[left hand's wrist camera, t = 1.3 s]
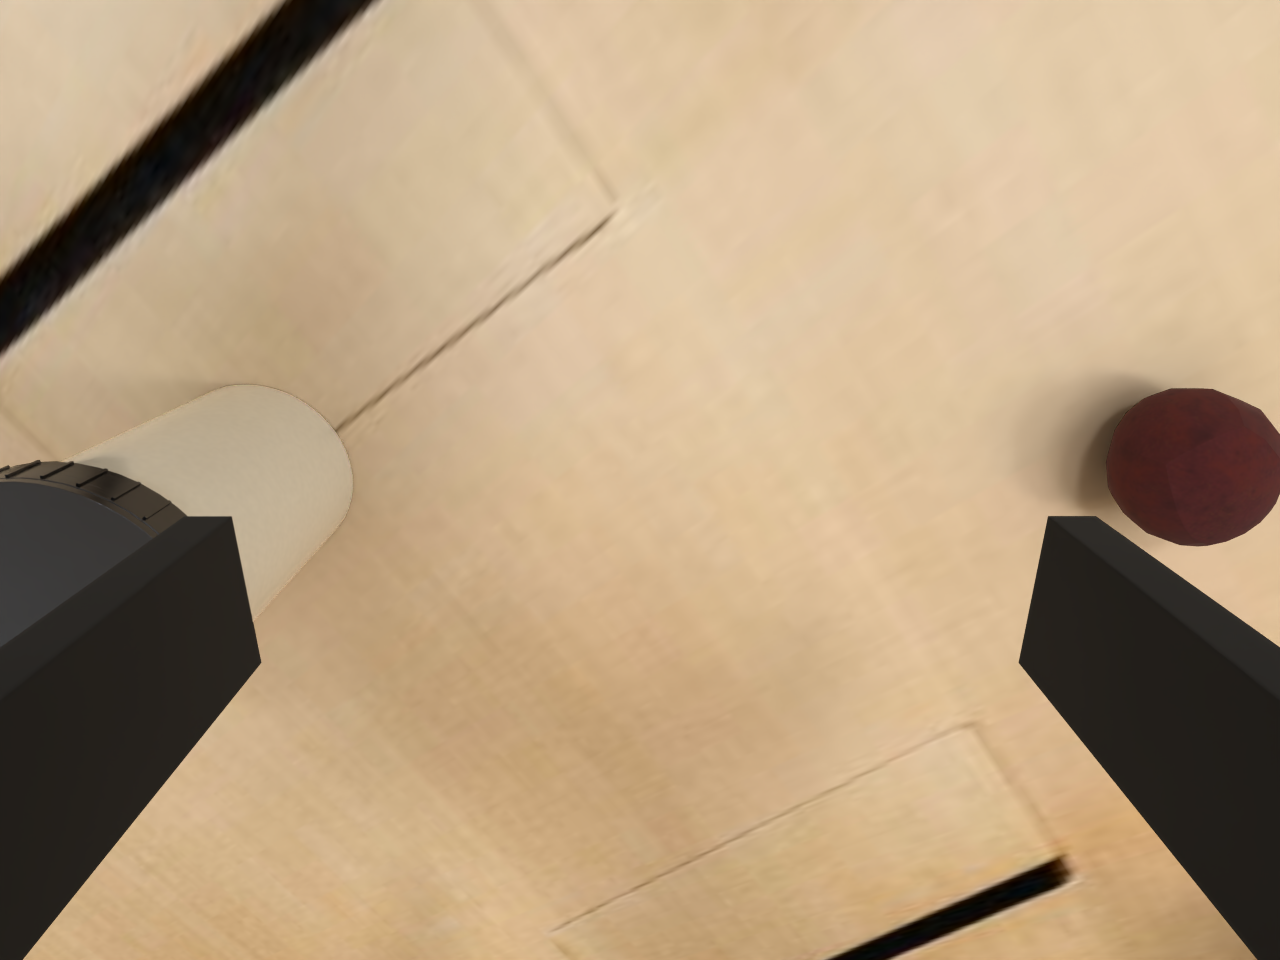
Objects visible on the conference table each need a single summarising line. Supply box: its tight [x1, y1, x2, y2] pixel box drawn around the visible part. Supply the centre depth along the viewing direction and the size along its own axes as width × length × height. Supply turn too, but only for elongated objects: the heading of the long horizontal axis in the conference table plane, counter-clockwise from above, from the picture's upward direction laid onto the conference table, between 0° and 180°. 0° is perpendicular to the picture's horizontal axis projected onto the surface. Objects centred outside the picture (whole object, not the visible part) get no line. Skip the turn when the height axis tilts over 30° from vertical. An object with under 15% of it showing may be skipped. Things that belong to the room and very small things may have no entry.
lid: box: [0, 460, 187, 647], centre depth 28 cm, size 11×11×2 cm
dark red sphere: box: [1106, 388, 1280, 546], centre depth 38 cm, size 7×8×7 cm
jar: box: [60, 384, 353, 622], centre depth 35 cm, size 10×10×15 cm
